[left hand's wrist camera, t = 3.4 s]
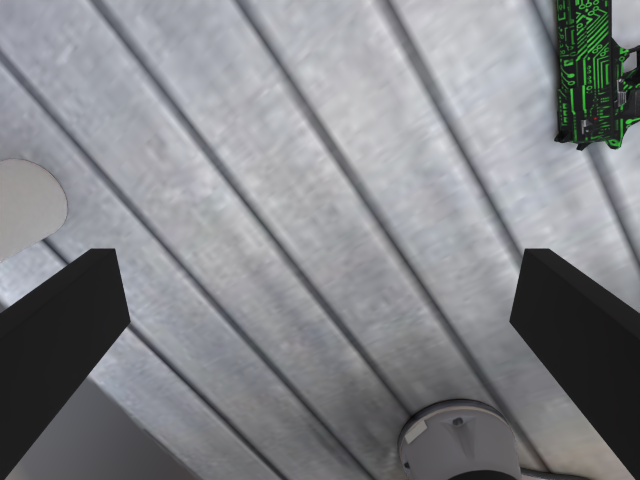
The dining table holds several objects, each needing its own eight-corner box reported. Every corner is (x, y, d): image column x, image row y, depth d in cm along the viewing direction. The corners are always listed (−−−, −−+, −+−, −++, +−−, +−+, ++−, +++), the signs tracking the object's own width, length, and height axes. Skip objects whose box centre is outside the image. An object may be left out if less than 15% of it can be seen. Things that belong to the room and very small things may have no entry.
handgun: (721, 133, 35) (556, 164, 36) (691, 130, 38) (538, 159, 39) (759, -81, 30) (562, -40, 30) (720, -66, 32) (540, -29, 33)
